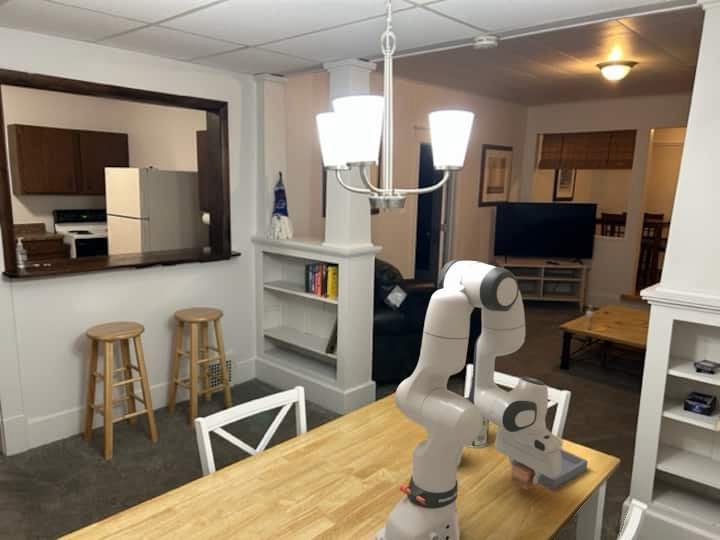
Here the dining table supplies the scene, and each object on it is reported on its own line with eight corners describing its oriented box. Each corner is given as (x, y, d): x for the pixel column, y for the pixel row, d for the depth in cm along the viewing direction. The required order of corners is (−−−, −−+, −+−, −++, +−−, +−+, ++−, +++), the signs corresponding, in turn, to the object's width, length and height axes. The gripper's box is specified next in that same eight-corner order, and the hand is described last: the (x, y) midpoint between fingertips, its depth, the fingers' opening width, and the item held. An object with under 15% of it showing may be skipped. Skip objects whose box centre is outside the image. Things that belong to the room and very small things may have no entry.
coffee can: (468, 430, 188) (470, 394, 186) (493, 440, 181) (496, 402, 179) (452, 440, 181) (453, 402, 178) (477, 451, 174) (480, 412, 171)
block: (526, 489, 147) (527, 473, 146) (511, 481, 151) (512, 465, 150) (536, 484, 150) (538, 467, 149) (522, 476, 154) (523, 460, 153)
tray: (553, 491, 152) (554, 480, 151) (513, 469, 163) (514, 459, 162) (586, 471, 163) (587, 460, 162) (547, 452, 174) (547, 442, 173)
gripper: (492, 421, 154) (488, 464, 157) (553, 450, 138) (548, 497, 140) (505, 416, 158) (502, 458, 160) (566, 444, 142) (562, 490, 144)
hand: (524, 477), depth 150 cm, fingers closed on block, 5 cm apart
